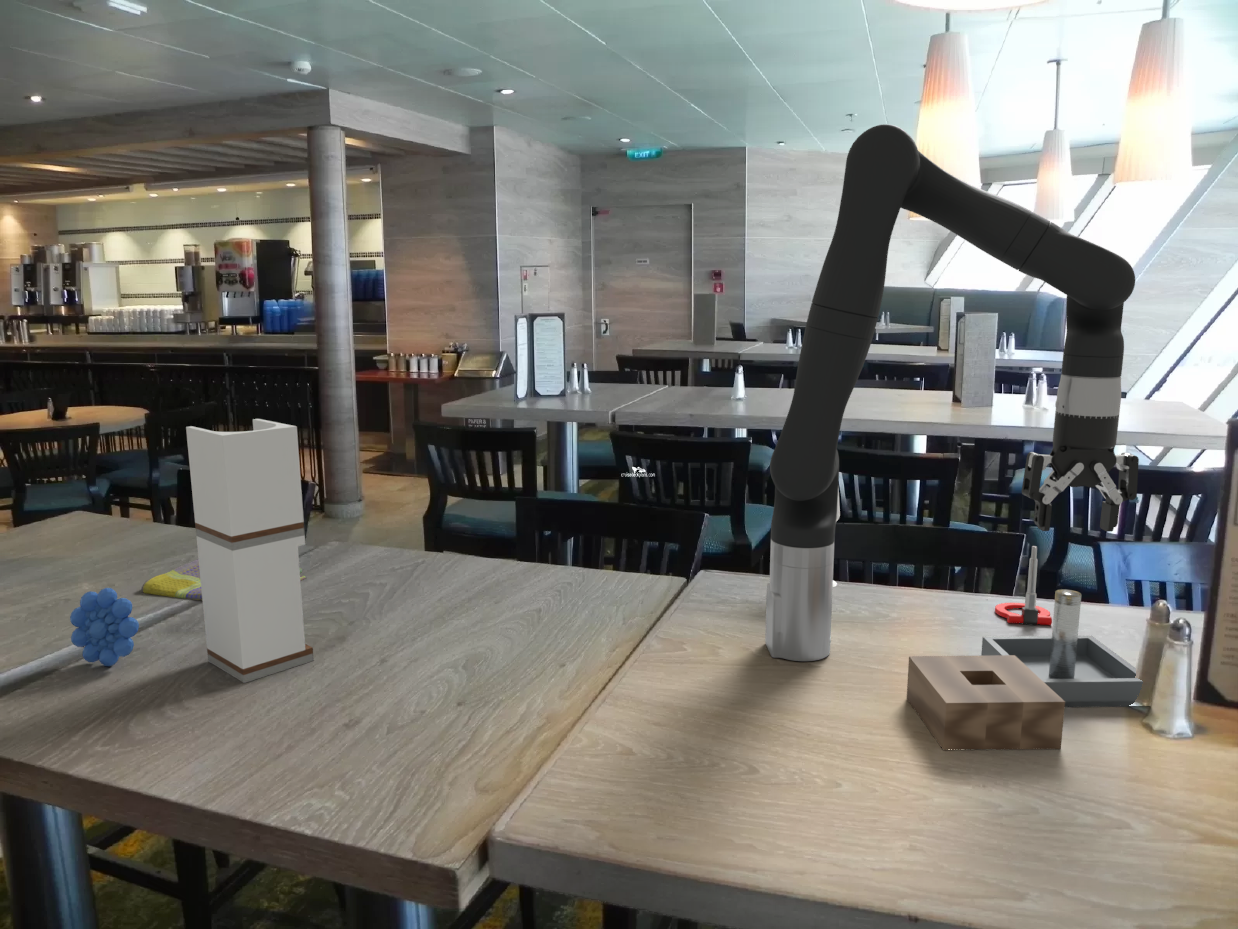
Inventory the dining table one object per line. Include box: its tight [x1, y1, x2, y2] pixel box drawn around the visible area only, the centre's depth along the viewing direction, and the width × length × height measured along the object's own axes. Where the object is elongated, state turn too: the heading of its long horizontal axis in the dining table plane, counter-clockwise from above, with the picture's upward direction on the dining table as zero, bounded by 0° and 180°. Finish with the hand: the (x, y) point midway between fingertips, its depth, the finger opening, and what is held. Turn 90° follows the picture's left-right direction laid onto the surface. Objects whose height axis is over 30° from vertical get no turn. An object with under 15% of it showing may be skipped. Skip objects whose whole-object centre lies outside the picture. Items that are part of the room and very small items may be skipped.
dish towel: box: [141, 558, 307, 601], centre depth 175 cm, size 18×24×3 cm
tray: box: [980, 635, 1143, 708], centre depth 130 cm, size 16×16×4 cm
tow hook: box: [994, 545, 1053, 626], centre depth 155 cm, size 8×13×9 cm
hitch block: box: [906, 655, 1066, 751], centre depth 118 cm, size 14×14×6 cm
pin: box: [1049, 588, 1082, 679], centre depth 129 cm, size 3×3×12 cm
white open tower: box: [185, 418, 315, 684], centre depth 136 cm, size 11×11×35 cm
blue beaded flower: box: [69, 587, 140, 667], centre depth 138 cm, size 12×7×12 cm, turn 75°
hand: (1074, 530), depth 126 cm, fingers open, 8 cm apart
